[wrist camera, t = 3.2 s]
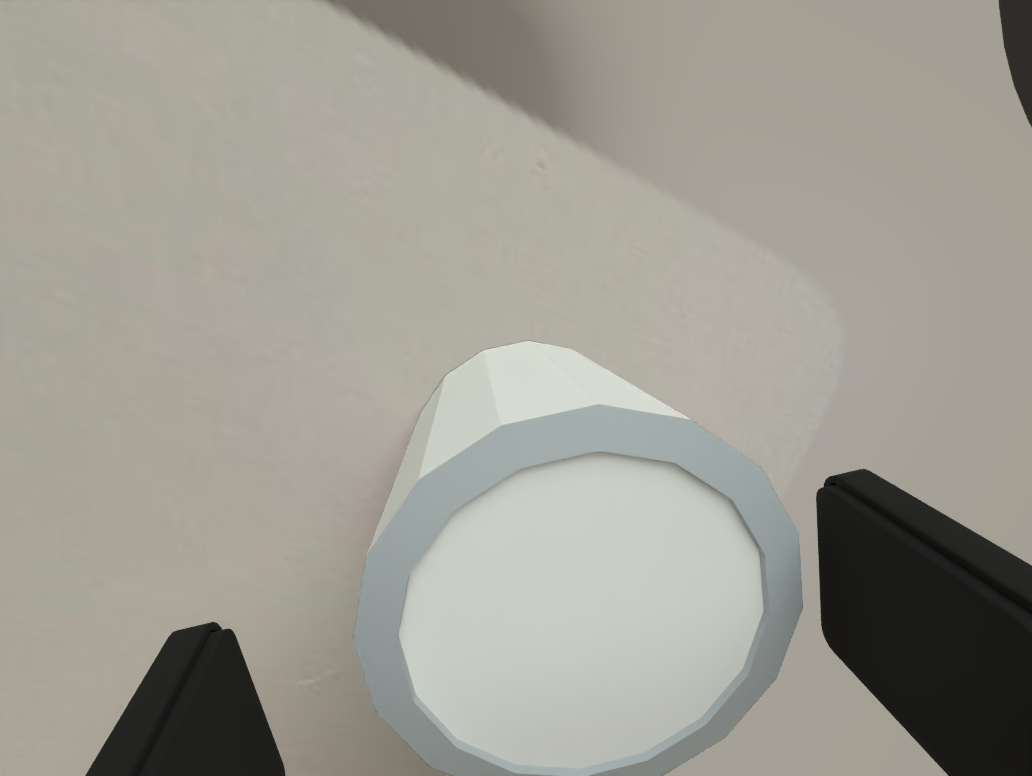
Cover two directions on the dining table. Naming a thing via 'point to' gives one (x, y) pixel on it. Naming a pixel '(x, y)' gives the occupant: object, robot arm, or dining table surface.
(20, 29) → the dining table surface
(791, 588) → the grey white cylinder
